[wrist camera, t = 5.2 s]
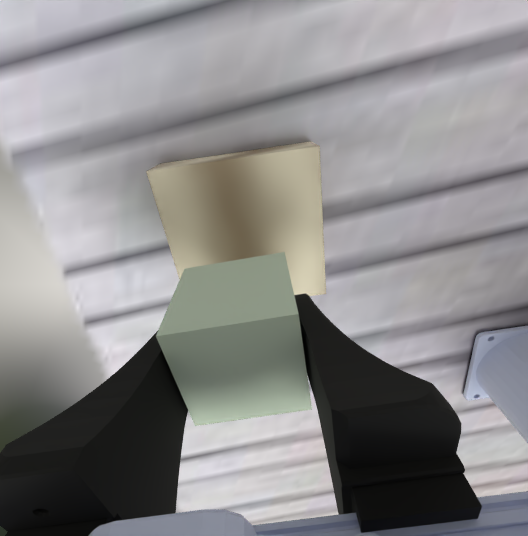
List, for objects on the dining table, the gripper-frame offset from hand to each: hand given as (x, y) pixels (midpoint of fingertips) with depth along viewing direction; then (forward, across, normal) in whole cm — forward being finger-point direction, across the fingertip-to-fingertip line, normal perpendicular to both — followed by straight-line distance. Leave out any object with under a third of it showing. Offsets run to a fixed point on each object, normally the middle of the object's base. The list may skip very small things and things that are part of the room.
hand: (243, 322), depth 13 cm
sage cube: (+2, 0, 0) cm, 2 cm away
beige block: (+9, 0, -1) cm, 9 cm away
